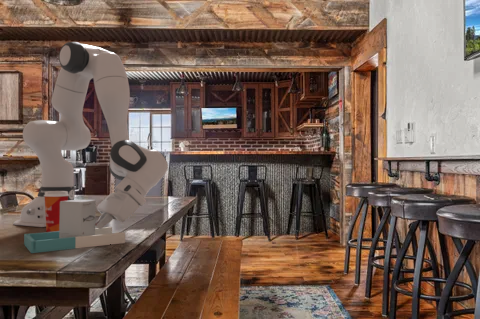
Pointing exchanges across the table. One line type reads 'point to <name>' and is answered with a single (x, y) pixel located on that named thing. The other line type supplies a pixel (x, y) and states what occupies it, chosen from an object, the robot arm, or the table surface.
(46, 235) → the push lane
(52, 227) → the paper cup
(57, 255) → the table surface
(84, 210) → the supplement box
